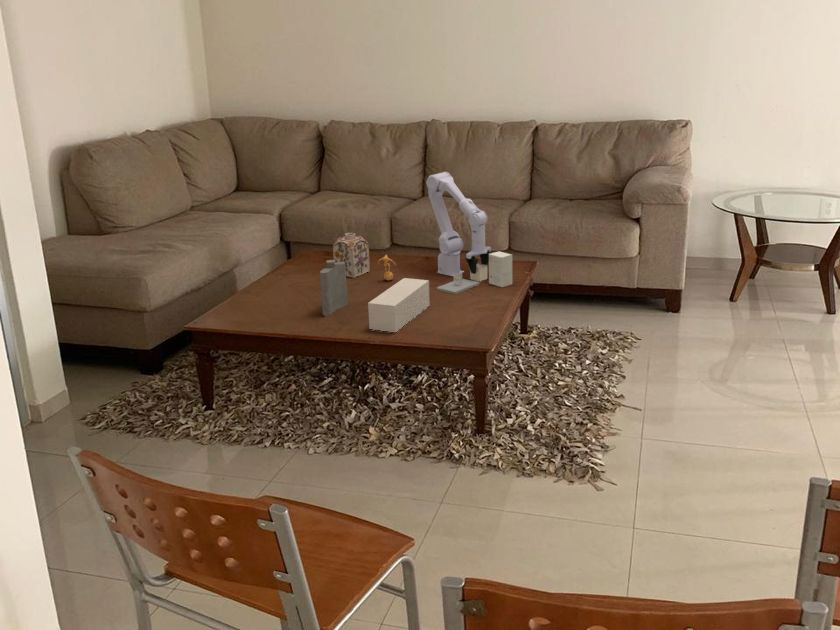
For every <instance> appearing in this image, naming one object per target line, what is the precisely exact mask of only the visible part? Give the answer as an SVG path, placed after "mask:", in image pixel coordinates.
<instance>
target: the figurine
mask: <svg viewBox="0 0 840 630" xmlns="http://www.w3.org/2000/svg"><path fill="white" fill-rule="evenodd" d="M377 261H378V262H377V265H380V261H383V266H384V270H385V272H384V274H383V278H384V279H385V280H386V281H391V280H393V278H394V274H393V272H391V271H390V270H391V265H390V262H391V263H393V264H394V265H395V266H397V264H396V262H395V261H394V260H393V259H391V258H389V257H388V254H385V255H384V256H383V257H381V258H379V259H378V260H377ZM387 267H388V269H387Z"/></svg>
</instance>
